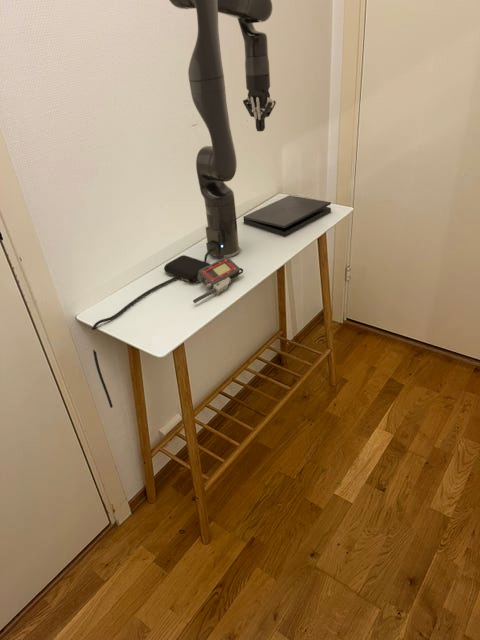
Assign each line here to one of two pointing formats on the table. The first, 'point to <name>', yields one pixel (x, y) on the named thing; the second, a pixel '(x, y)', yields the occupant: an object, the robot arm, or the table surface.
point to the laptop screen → (287, 211)
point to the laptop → (292, 227)
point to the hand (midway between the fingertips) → (260, 130)
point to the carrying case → (185, 268)
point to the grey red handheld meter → (218, 276)
